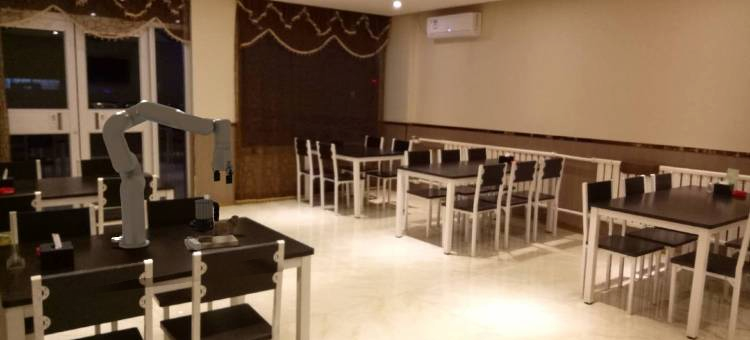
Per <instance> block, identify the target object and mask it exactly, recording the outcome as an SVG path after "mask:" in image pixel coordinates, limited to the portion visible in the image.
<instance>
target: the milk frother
mask: <svg viewBox="0 0 750 340" xmlns="http://www.w3.org/2000/svg"><path fill="white" fill-rule="evenodd" d="M194 203H195V219H193V220H191V221H190V222H189V225H190V226H192V227H195V230H196V231H198V232H206V231H207V232H208V231H213V227H214V224H215V223H216V222H220V204H219V203H218V202H216V201H214V199H211V198H210V199H209V198H203V199H196V200H194Z"/></svg>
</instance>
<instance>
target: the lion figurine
mask: <svg viewBox="0 0 750 340" xmlns="http://www.w3.org/2000/svg"><path fill="white" fill-rule="evenodd" d="M239 223H240V218H239V216H238V215H237V214H234V215H232V216H231V217H230V218H229V219H228V220H227V221H218V222H214V227H213V230H212V233H210V236H213V235H214V236H215V235H216V233H215V232H216V231H217V233H218V236H223V234H222V233H221V230H222V229H223V230H228V234H231V235H235V233H234V230H235V229H236V228H237V227H238V224H239Z"/></svg>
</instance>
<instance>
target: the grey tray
mask: <svg viewBox="0 0 750 340" xmlns="http://www.w3.org/2000/svg"><path fill="white" fill-rule="evenodd" d="M193 238H194V237H193ZM194 239H195V240H197V241H198V242H200V243H201V249H200V250H203V249H204V250H205V249H211V248H223V247H224V248H225V247H234V246H239V240H238V238H237V237H235V236H234V234H228V235H222V236H220V235H217V236H215V235H214V236H213V235H203V236H198V237H195V238H194ZM184 245H185V247H186V249H187V250H188V251H191V250H192V251H193V250H194V249H193V248H192V247H191V246H189V245H188V244H187V238H185V239H184Z"/></svg>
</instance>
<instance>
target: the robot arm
mask: <svg viewBox="0 0 750 340" xmlns="http://www.w3.org/2000/svg"><path fill="white" fill-rule="evenodd" d="M147 121H148V122H152V123H157V124H160V125H163V126H167V127H170V128H174V129H177V130H182V131H185V132H189V133H193V134H197V135H200V136H203V137H204V136H205V137H207V136H209V135H212V134H213V151H212V160H211V161H212V162H211V163H210V165H211V169H212V173H213V182H221V172H224V171H225V174H226V175H225V184H226V185H230V184H233V175H234V172H235V168H236V166H235V164H233V154H232V122H231V120H230V119H227V118H216V119H215V118H208V117H201V116H196V115H194V114H190V113H187V112H184V111H182V110H181V109H178V108H175V107H172V106H169V105H165V104H162V103H157V102H155V101H152V100H148V99H147V100H145V99H144V100H140V101H139V102H138V103H137V104H135V105H132V106H130V107H129V108H125V109H123V110H121V111H117V112H115V113H113V114H111V115H110V116H109V117H108V118H107V119H106V121H105V122H104V124H103V126H102V139H103V141H104V144H105V147H106V150H107V154H108V156H109V159H110V161H111V165H112V167H113V168H112V169H114V170H115V172H116V173H118V174H119V176H120V180H121V182H120V185H119V186H120V187H119V195H120V196H119V197H120V204H121V207H120V209H121V230H122V231H121V232H122V234H121V235H120V236H119V237H112V238H111V243H119V244H118V246H119V248H122V249H139V248H144V247H147V246H149V245H150V240H148V239H146V237H147V235H146V213H145V212H146V211H145V195H144V194H145V193H144V192H145V187H146V182H147V181H146V179H145V176H144V173H143V170H142V168H141V165H140V162H139V160H138V158H137V155H136V154H135V153H134V152H132V151H131V150H130V147H129V146H128V142H127V140H126V138H125V132H126V131H127V130H130V129H132V128H134V127H136V126H138V125H141V124H142V123H144V122H147Z"/></svg>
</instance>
